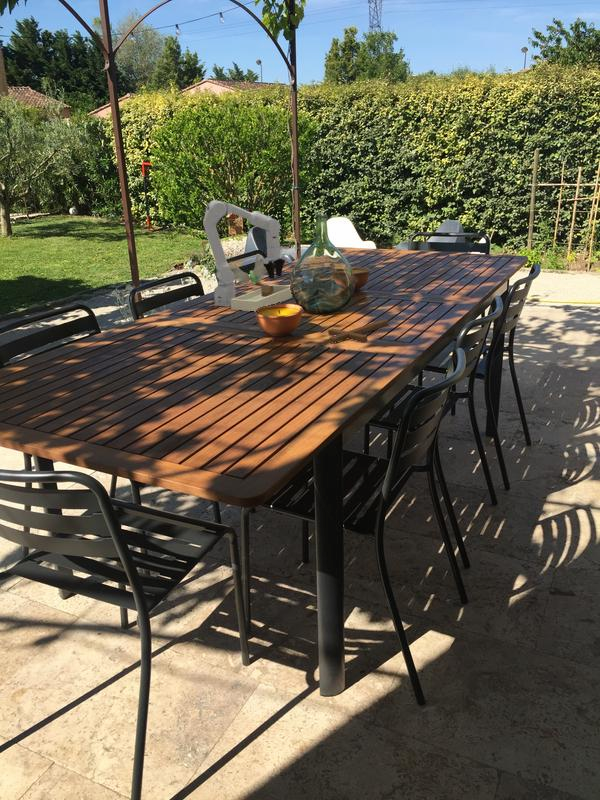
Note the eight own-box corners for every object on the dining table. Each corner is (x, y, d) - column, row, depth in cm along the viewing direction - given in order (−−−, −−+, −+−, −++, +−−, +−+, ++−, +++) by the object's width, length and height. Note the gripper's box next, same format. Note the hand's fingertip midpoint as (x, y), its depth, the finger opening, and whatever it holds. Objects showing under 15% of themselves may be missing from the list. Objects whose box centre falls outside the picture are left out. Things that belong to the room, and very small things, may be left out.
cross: (403, 322, 234) (349, 341, 214) (403, 328, 234) (350, 348, 215) (368, 316, 244) (314, 334, 225) (368, 322, 245) (315, 340, 226)
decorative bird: (279, 269, 325) (265, 250, 313) (278, 284, 320) (263, 266, 308) (238, 281, 334) (223, 263, 323) (236, 296, 329) (221, 279, 318)
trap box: (256, 312, 268) (256, 301, 266) (231, 309, 274) (230, 299, 273) (295, 296, 294) (295, 286, 292) (271, 294, 300) (271, 284, 298)
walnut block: (269, 296, 283) (268, 287, 281) (261, 296, 285) (261, 287, 283) (274, 295, 286) (273, 286, 285) (266, 294, 288) (266, 285, 286)
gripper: (272, 249, 276) (274, 280, 281) (289, 244, 287) (291, 274, 292) (258, 248, 279) (260, 279, 284) (276, 244, 291) (278, 274, 296)
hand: (275, 277), depth 288 cm, fingers open, 5 cm apart
